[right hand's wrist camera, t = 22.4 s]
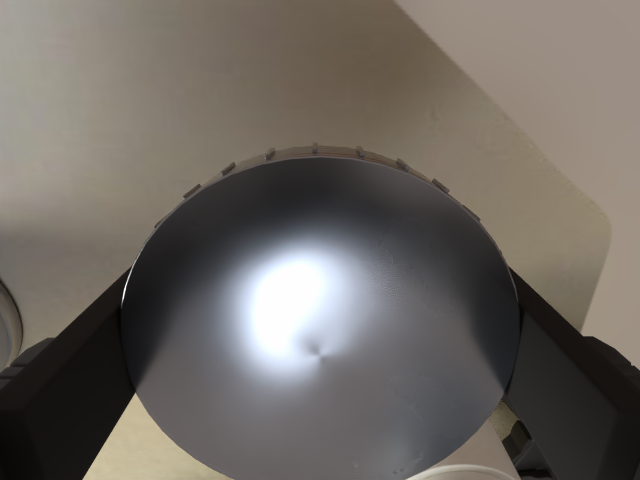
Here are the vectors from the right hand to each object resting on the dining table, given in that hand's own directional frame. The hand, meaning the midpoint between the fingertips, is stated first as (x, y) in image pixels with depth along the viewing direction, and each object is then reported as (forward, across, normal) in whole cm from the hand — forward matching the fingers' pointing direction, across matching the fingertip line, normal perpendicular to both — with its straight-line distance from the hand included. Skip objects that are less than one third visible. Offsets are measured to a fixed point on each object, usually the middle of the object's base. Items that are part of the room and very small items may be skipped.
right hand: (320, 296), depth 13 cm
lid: (-3, 0, 0) cm, 3 cm away
